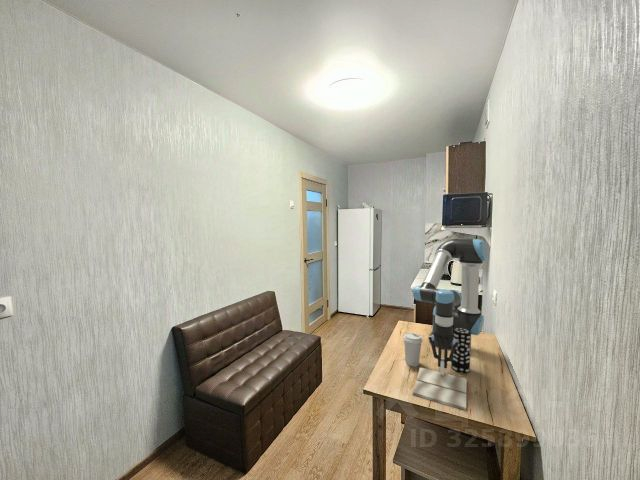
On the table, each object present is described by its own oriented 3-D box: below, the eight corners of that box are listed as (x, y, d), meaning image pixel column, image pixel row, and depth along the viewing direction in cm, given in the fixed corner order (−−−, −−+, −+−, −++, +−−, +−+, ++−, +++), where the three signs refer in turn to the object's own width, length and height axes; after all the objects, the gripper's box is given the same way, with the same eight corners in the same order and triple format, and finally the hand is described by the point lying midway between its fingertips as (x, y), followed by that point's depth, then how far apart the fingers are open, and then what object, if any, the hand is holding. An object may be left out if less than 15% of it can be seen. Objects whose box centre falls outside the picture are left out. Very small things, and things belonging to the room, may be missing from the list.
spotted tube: (452, 372, 133) (453, 332, 132) (450, 364, 141) (451, 326, 140) (471, 375, 130) (472, 334, 129) (468, 367, 138) (469, 328, 137)
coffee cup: (423, 369, 135) (424, 340, 134) (403, 367, 137) (404, 338, 136) (420, 360, 144) (421, 332, 144) (401, 358, 146) (402, 331, 145)
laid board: (466, 395, 114) (466, 393, 114) (466, 410, 105) (466, 407, 105) (416, 382, 123) (416, 379, 123) (412, 394, 114) (412, 392, 114)
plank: (466, 380, 122) (466, 378, 122) (466, 395, 114) (466, 392, 114) (419, 369, 132) (419, 367, 131) (416, 381, 124) (416, 379, 124)
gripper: (460, 324, 124) (458, 373, 125) (429, 319, 130) (428, 366, 132) (459, 329, 117) (457, 382, 119) (427, 324, 124) (426, 373, 125)
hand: (442, 373), depth 125 cm, fingers closed
